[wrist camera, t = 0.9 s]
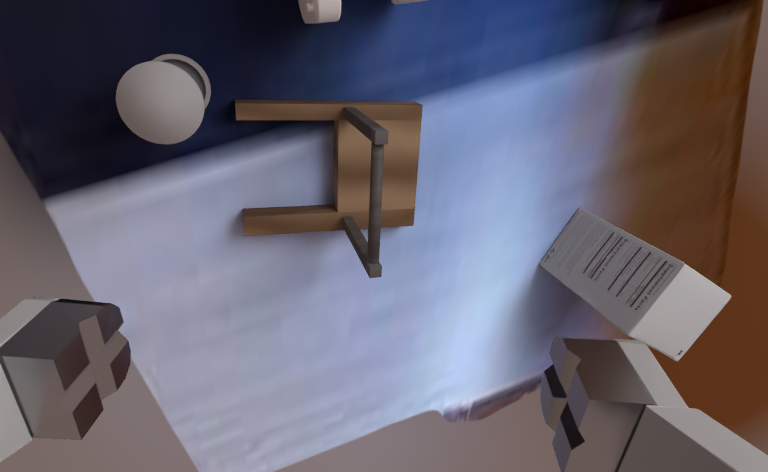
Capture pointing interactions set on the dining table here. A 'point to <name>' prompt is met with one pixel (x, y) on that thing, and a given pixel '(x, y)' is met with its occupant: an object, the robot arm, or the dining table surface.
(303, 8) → the cable organizer
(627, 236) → the supplement box
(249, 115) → the wooden frame
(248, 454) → the dining table surface
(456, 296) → the dining table surface
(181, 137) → the grey mushroom bollard
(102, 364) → the robot arm
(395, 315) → the dining table surface
